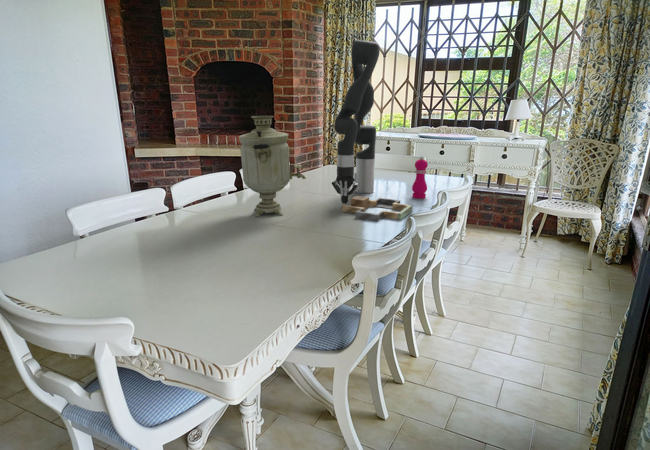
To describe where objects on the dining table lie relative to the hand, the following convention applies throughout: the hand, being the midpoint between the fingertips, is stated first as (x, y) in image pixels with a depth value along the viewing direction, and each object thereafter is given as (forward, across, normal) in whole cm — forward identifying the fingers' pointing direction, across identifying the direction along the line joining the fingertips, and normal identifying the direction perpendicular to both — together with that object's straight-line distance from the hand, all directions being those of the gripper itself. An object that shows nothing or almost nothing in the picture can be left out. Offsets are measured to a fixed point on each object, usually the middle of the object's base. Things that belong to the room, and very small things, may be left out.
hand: (344, 203), depth 189 cm
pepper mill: (+2, +24, +33) cm, 41 cm away
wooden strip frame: (+1, +16, 0) cm, 16 cm away
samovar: (+2, -22, -24) cm, 32 cm away
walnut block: (+2, +7, 0) cm, 7 cm away
